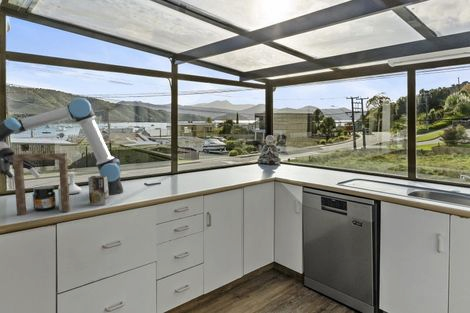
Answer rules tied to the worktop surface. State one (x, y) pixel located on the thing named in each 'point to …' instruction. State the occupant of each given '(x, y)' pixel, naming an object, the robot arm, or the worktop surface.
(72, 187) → the flower in vase
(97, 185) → the coffee box
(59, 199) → the door
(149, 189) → the worktop surface
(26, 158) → the door frame
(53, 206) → the supplement container
